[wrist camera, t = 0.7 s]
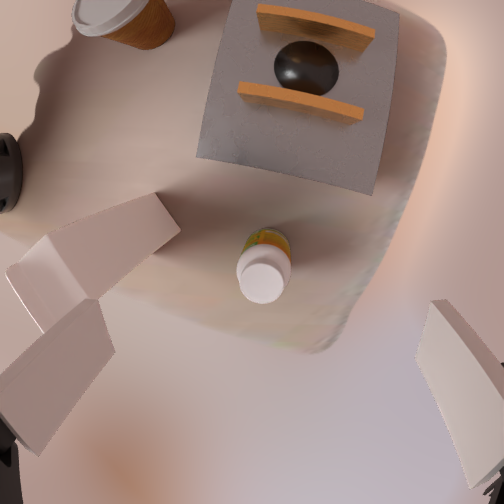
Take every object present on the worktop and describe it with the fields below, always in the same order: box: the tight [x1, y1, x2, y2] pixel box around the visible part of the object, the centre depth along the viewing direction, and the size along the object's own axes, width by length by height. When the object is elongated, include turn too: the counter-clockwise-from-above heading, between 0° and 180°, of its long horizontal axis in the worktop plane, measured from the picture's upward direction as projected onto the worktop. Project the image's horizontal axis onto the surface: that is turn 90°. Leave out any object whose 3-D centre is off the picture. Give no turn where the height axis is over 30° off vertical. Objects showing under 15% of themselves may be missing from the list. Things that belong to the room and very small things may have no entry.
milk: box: [5, 193, 181, 333], centre depth 24 cm, size 6×6×22 cm
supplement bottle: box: [236, 228, 291, 304], centre depth 29 cm, size 5×5×10 cm
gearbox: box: [196, 0, 399, 196], centre depth 22 cm, size 17×21×10 cm
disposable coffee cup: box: [72, 0, 175, 50], centre depth 20 cm, size 10×10×12 cm
